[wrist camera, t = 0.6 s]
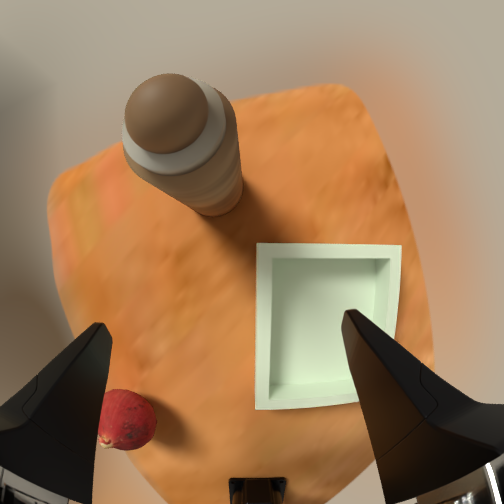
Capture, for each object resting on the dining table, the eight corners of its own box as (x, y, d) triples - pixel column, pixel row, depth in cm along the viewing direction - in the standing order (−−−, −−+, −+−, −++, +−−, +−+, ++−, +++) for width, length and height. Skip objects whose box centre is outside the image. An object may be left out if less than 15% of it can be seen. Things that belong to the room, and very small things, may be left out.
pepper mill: (242, 216, 22) (229, 161, 7) (184, 216, 22) (77, 173, 7) (243, 159, 22) (235, 34, 7) (186, 160, 22) (104, 53, 7)
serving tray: (368, 380, 22) (382, 397, 19) (254, 388, 22) (255, 409, 19) (381, 244, 22) (401, 245, 19) (256, 243, 22) (257, 242, 18)
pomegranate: (156, 375, 22) (124, 423, 14) (171, 423, 22) (149, 475, 14) (105, 374, 22) (64, 413, 14) (122, 420, 22) (91, 464, 14)
